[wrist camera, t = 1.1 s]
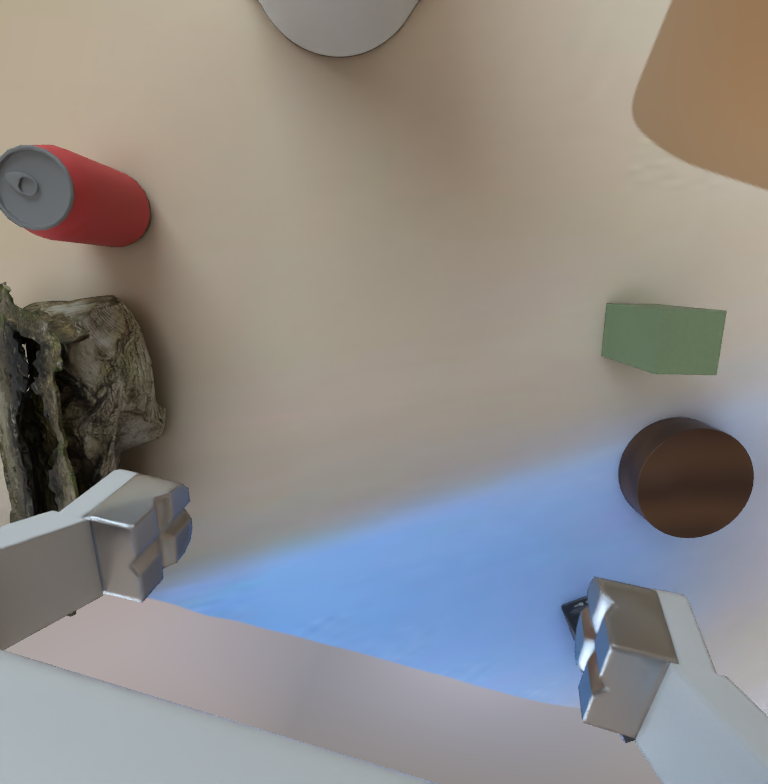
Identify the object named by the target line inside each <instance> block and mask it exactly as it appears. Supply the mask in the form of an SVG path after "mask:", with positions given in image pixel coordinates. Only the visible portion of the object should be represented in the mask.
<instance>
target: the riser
mask: <svg viewBox="0 0 768 784" xmlns="http://www.w3.org/2000/svg"><path fill="white" fill-rule="evenodd" d="M753 480H754V472H753V466H752V462H751V459H750V457H749V455H748V453H747V451H746V450H745V448H744V447H743V446H742V445H741V444H740V442H739V441H738V440H736V439H735V438H733V437H732V436H730V435H728V434H727V433H725V432H722V431H720V430H718V429H716V428H713V427H711V426H709V425H707V424H704V423H702V422H700V421H697V420H694V419H690V418H682V417H678V418H669V419H664V420H661V421H658V422H655V423H653V424H651V425H649V426H648V427H646V428H644V429H643V430H642V431H640V432H639V433H638V434H637V435H636V436H635V437H634V438H633V439H632V440H631V442H630V443H629V444H628V446H627V447H626V449H625V451H624V453H623V455H622V458H621V461H620V466H619V484H620V488H621V491H622V493H623V495H624V497H625V499H626V500H627V502H628V503H629V504H630V505H631V506H632V507H633V508H634V509H635V510H636V511H637V512H638V513H639V514H640V515H642V516H643V517H644V518H645V519H646V520H647V521H648V522H649V523H650V524H651V525H653V526H654V527H655V528H657V529H658V530H659V531H661V532H663V533H665V534H668V535H671V536H675V537H680V538H696V537H702V536H705V535H709V534H711V533H714V532H716V531H718V530H720V529H722V528H724V527H725V526H726V525H728V524H729V523H730V522H732V521H733V520H734V519H735V518H736V517H737V516H738V515H739V513H740V512H741V511H742V510H743V508H744V507H745V505H746V503H747V501H748V499H749V497H750V494H751V491H752V487H753Z"/></svg>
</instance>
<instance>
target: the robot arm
mask: <svg viewBox="0 0 768 784" xmlns="http://www.w3.org/2000/svg"><path fill="white" fill-rule="evenodd" d="M418 1H419V0H259V2H260V4H261V5H262V7H263V9H264V11H265V12H266V14H267V15H268V17H269V18H270V20H271V21H272V22H273V24H274V25H275V26H276V27H277V28H278V29H279V30H280V31H281V32H282V33H283V34H284V35H285V36H286V37H287V38H289V39H290V40H291V41H293V42H294V43H295V44H297V45H299V46H300V47H302V48H304V49H306V50H309V51H311V52H314V53H317V54H321V55H326V56H334V57H344V56H352V55H357V54H361V53H364V52H367V51H369V50H371V49H374V48H375V47H377V46H379V45H381V44H382V43H384V42H385V41H386V40H388V39H389V38H390V37H391V36H392V35H394V34H395V33H396V32H397V31H398V29H399V28H400V27H401V26H402V25H403V24H404V22H405V21H406V19H407V18H408V16H409V15H410V13H411V12H412V10H413V8H414V7H415V5H416V4H417V2H418ZM189 502H190V496H189V488H188V487H187V486H185V485H184V484H182V483H178V482H174V481H170V480H166V479H162V478H158V477H154V476H150V475H146V474H140V473H136V472H132V471H128V470H124V469H119V470H114V471H113V472H111V473H110V474H109V475H107V476H106V477H105V478H103V479H102V480H101V481H99V482H98V483H97V484H95V485H94V486H93V487H91V488H90V489H89V490H87V491H86V492H85V493H84V494H82V495H81V496H80V497H78V498H77V499H76V500H74V501H73V502H72V503H70V504H69V505H68V506H66V507H65V508H64V509H62V510H61V511H60V512H57V511H53V510H52V511H49V512H46V513H43V514H39V515H36V516H33V517H30V518H26V519H23V520H20V521H17V522H13V523H10V524H7V525H4V526H0V784H438V783H434V782H431V781H428V780H425V779H421V778H418V777H415V776H411V775H408V774H405V773H402V772H398V771H395V770H392V769H388V768H385V767H382V766H379V765H375V764H372V763H369V762H366V761H362V760H359V759H356V758H352V757H349V756H346V755H342V754H340V753H336V752H333V751H330V750H326V749H323V748H320V747H317V746H313V745H310V744H307V743H304V742H300V741H297V740H294V739H290V738H287V737H284V736H281V735H277V734H274V733H271V732H268V731H264V730H261V729H258V728H255V727H252V726H248V725H245V724H242V723H238V722H235V721H232V720H229V719H226V718H222V717H219V716H216V715H213V714H209V713H206V712H203V711H200V710H196V709H193V708H190V707H187V706H183V705H180V704H177V703H173V702H170V701H167V700H164V699H160V698H157V697H154V696H151V695H148V694H144V693H141V692H138V691H134V690H131V689H128V688H125V687H121V686H118V685H115V684H112V683H108V682H105V681H102V680H99V679H95V678H92V677H89V676H86V675H82V674H79V673H76V672H72V671H69V670H65V669H63V668H59V667H56V666H53V665H49V664H46V663H43V662H40V661H37V660H33V659H30V658H27V657H24V656H20V655H17V654H14V653H10V652H7V651H4V650H5V649H7V648H8V647H10V646H12V645H14V644H16V643H17V642H19V641H21V640H23V639H25V638H26V637H28V636H30V635H32V634H34V633H36V632H38V631H39V630H41V629H43V628H45V627H47V626H48V625H50V624H52V623H54V622H56V621H57V620H59V619H61V618H63V617H65V616H67V615H69V614H70V613H72V612H74V611H76V610H78V609H79V608H81V607H83V606H85V605H87V604H89V603H90V602H92V601H94V600H96V599H98V598H100V597H101V596H103V593H105V594H109V595H113V596H117V597H122V598H126V599H130V600H134V601H138V602H143V601H144V600H145V599H146V598H147V597H148V595H149V594H150V593H151V592H152V591H153V590H154V588H155V587H156V586H157V585H158V584H159V583H160V582H161V580H162V579H163V569H164V568H166V567H168V566H170V565H173V564H175V563H177V562H178V560H179V559H180V558H181V557H182V555H183V554H184V553H185V551H186V549H187V546H188V544H189V542H190V540H191V534H192V518H191V517H190V515H189V514H188V513H187V511H186V510H185V507H186V506H187V504H188V503H189ZM587 596H588V603H589V606H588V607H586V608H585V609H583V610H581V612H580V616H579V619H578V623H577V628H576V635H575V660H576V665H577V666H578V668H579V669H580V670H581V672H582V673H583V675H582V678H581V681H580V683H579V686H578V688H579V697H580V706H581V714H582V722H583V723H586V724H589V725H592V726H595V727H599V728H602V729H605V730H609V731H613V732H615V733H619V734H622V735H625V736H629V737H632V738H635V739H636V740H635V742H636V743H637V745H638V746H639V748H640V750H641V751H642V752H643V754H644V756H645V757H646V759H647V761H648V762H649V764H650V765H651V767H652V768H653V770H654V771H655V773H656V775H657V776H658V778H659V779H660V781H661V782H662V784H768V716H767V715H766V714H765V713H764V712H763V711H762V710H761V709H760V708H758V707H757V706H756V705H755V704H754V703H753V702H752V701H751V700H750V699H749V698H748V697H747V696H746V695H745V694H744V693H743V692H742V691H741V690H740V689H739V688H738V687H737V686H736V685H735V684H734V683H733V682H732V681H731V680H730V679H729V678H727V677H726V676H722V675H718V674H717V673H716V670H715V668H714V665H713V663H712V660H711V658H710V655H709V652H708V650H707V647H706V645H705V642H704V639H703V637H702V634H701V632H700V629H699V627H698V624H697V621H696V619H695V616H694V614H693V611H692V608H691V606H690V603H689V601H688V599H687V598H686V597H685V596H684V595H682V594H677V593H672V592H667V591H662V590H657V589H649V588H645V587H640V586H635V585H631V584H626V583H622V582H617V581H613V580H608V579H603V578H599V577H594V578H593V579H592V581H591V583H590V585H589V588H588V591H587Z"/></svg>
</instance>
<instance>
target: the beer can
mask: <svg viewBox="0 0 768 784" xmlns="http://www.w3.org/2000/svg"><path fill="white" fill-rule="evenodd" d="M0 210H1V211H2V212H3V213H4V214H5V216H6V217H7V218H8V219H9V220H11V221H12V222H14V223H15V224H17V225H18V226H20V227H23V228H25V229H26V230H28V231H29V232H31V233H33V234H35V235H37V236H40V237H43V238H47V239H50V240H57V241H65V242H74V243H83V244H92V245H100V246H109V247H123V246H126V245H129V244H132V243H134V242H135V241H136V240H138V239H139V238H140V237H141V236H142V235H143V233H144V231H145V230H146V228H147V226H148V222H149V217H150V209H149V202H148V199H147V197H146V194H145V192H144V190H143V189H142V188H141V186H140V185H139V184H138V183H137V181H135V180H134V179H132V178H131V177H130V176H128V175H127V174H125V173H122V172H120V171H118V170H115V169H113V168H110V167H108V166H105V165H103V164H100V163H98V162H95V161H93V160H91V159H88V158H86V157H83V156H81V155H78V154H76V153H73V152H71V151H69V150H66V149H63V148H60V147H57V146H54V145H19V146H17V147H14V148H11V149H9V150H7V151H6V152H5V153H4V154H3V155H2V156H1V157H0Z"/></svg>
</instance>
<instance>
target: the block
mask: <svg viewBox="0 0 768 784" xmlns="http://www.w3.org/2000/svg"><path fill="white" fill-rule="evenodd" d="M725 317H726V311H723V310H713V309H702V308H692V307H681V306H670V305H660V304H612V303H607V307H606V317H605V326H604V336H603V345H602V354H601V356H604V357H607V358H610V359H612V360H615V361H618V362H621V363H624V364H627V365H630V366H633V367H635V368H638V369H641V370H644V371H647V372H650V373H653V374H685V375H717V369H718V362H719V356H720V349H721V343H722V336H723V330H724V323H725Z"/></svg>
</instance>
